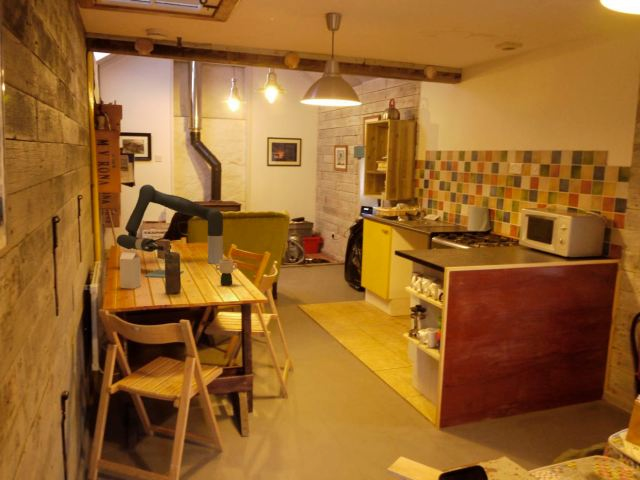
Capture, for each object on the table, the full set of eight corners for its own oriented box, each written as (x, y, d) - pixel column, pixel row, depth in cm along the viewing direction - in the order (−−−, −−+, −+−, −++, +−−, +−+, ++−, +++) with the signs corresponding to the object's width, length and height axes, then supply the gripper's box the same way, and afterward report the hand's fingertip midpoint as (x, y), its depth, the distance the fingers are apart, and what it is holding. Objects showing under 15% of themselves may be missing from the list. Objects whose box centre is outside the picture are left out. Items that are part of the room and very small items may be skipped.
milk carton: (133, 289, 268) (132, 251, 265) (120, 288, 269) (119, 250, 266) (141, 285, 274) (139, 249, 272) (128, 284, 276) (127, 248, 273)
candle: (167, 290, 266) (166, 250, 263) (182, 290, 266) (181, 250, 263) (163, 294, 258) (162, 253, 255) (179, 294, 259) (178, 253, 256)
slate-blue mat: (157, 270, 310) (157, 269, 310) (183, 272, 308) (183, 270, 308) (144, 276, 295) (144, 275, 295) (172, 278, 292) (172, 276, 292)
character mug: (236, 282, 285) (235, 258, 283) (237, 285, 278) (237, 261, 276) (215, 283, 282) (214, 259, 280) (216, 286, 275) (216, 261, 273)
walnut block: (164, 256, 303) (163, 239, 302) (170, 257, 301) (170, 240, 299) (157, 258, 299) (157, 240, 298) (163, 259, 297) (163, 241, 295)
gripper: (135, 239, 299) (157, 242, 291) (155, 236, 312) (176, 239, 303) (135, 252, 301) (157, 256, 292) (155, 249, 313) (176, 252, 304)
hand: (167, 247), depth 298 cm, fingers closed on walnut block, 5 cm apart
